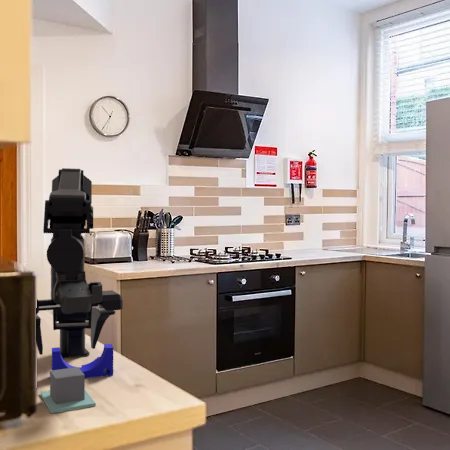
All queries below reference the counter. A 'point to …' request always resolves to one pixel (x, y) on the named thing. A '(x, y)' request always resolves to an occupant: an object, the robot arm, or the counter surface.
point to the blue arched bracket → (93, 369)
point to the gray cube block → (67, 385)
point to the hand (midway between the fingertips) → (67, 351)
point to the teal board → (66, 406)
